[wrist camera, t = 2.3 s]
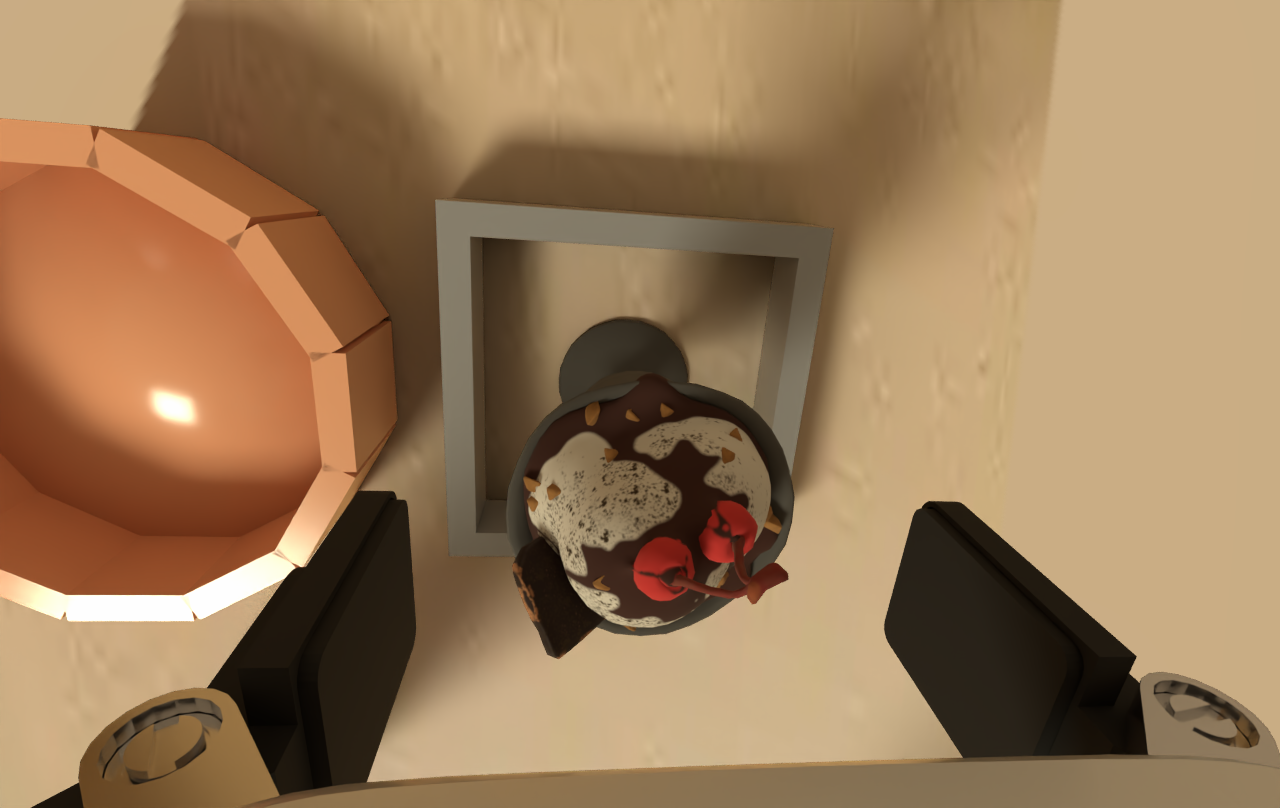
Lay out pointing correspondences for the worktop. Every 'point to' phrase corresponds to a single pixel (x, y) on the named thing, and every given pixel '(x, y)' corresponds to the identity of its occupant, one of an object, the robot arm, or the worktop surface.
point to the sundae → (643, 495)
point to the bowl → (172, 375)
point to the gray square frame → (467, 221)
